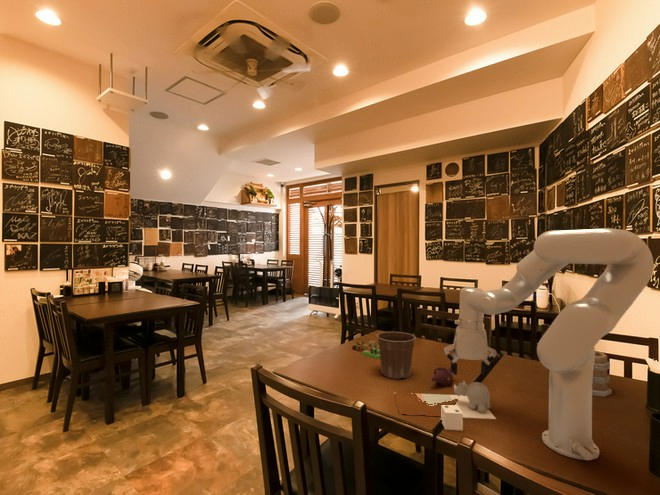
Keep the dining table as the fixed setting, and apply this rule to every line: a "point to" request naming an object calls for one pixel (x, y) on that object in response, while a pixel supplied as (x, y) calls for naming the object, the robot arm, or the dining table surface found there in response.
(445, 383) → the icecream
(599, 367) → the tankard
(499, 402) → the dining table surface
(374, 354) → the toy garden set
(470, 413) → the game mat
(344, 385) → the dining table surface
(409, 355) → the plant pot
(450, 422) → the die
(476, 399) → the round bodied animal figurine
